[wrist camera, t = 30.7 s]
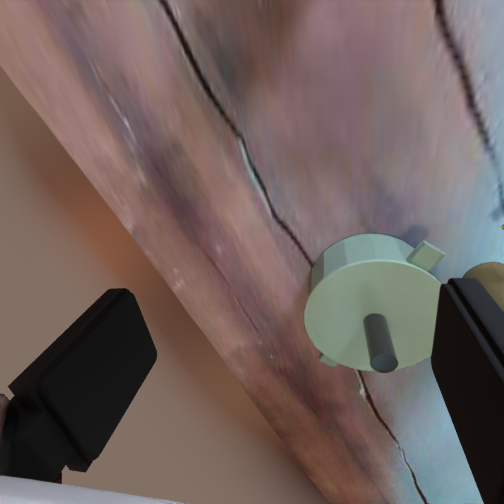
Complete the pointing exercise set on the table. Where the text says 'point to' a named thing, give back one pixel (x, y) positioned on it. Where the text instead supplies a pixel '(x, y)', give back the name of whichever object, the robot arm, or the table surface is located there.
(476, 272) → the cork
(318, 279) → the pot
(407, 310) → the lid
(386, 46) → the table surface
